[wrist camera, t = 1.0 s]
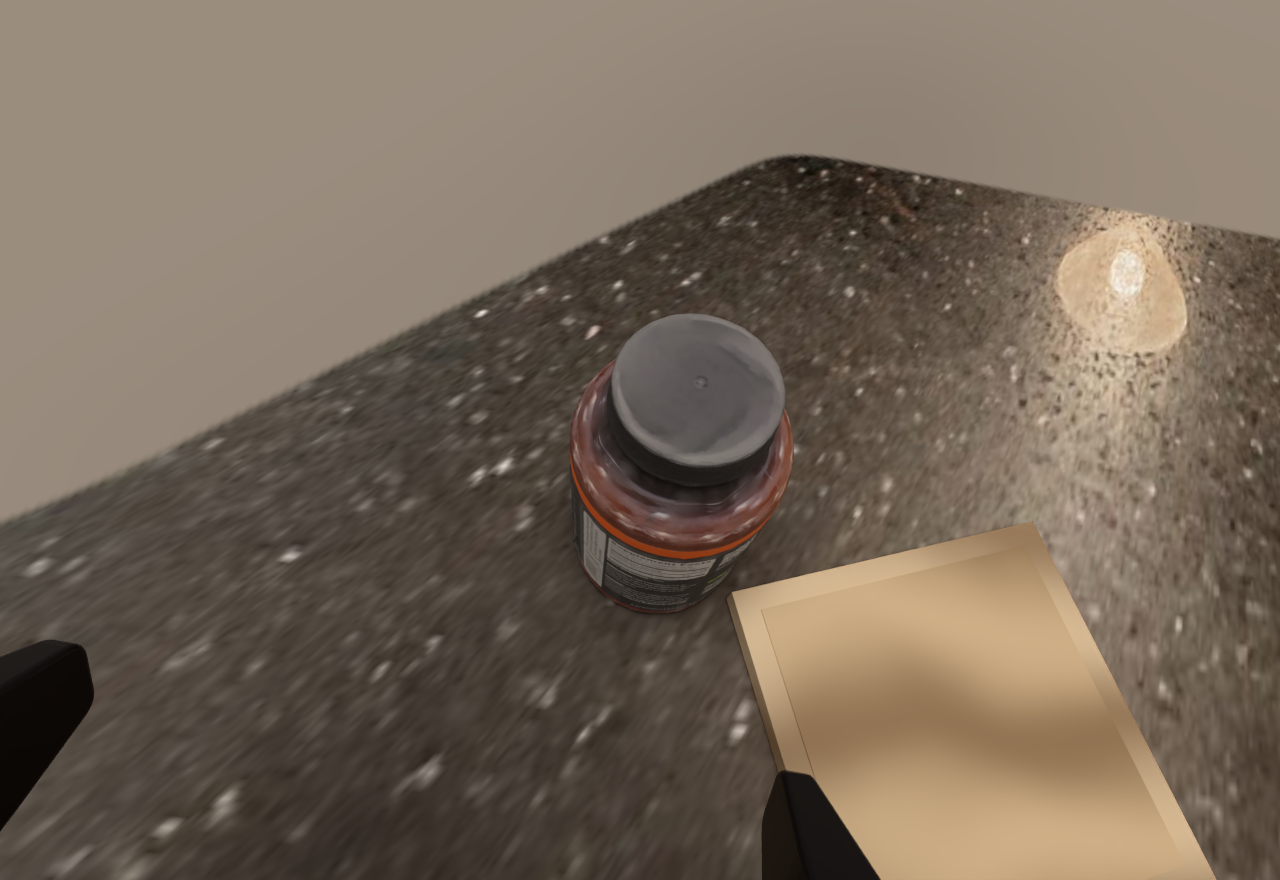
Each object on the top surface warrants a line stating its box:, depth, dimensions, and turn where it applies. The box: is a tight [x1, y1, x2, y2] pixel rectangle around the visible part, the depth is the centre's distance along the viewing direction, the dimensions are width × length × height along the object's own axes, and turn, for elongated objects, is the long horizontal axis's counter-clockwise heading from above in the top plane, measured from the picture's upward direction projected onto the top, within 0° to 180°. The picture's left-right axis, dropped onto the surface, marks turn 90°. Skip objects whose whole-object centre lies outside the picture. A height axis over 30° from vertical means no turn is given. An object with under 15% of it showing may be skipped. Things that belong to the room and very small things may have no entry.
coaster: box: [726, 522, 1216, 880], centre depth 23 cm, size 12×12×1 cm
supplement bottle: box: [570, 313, 794, 614], centre depth 20 cm, size 6×6×11 cm
